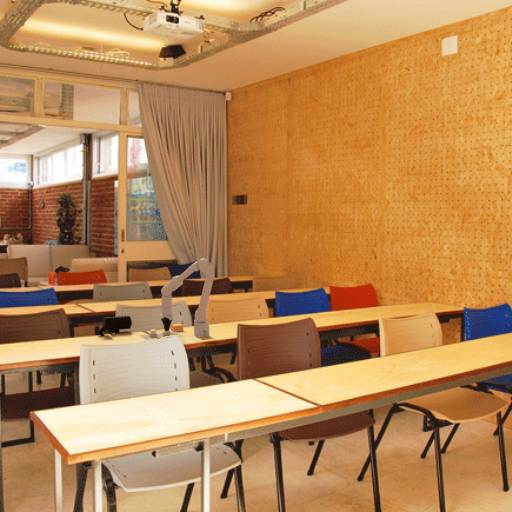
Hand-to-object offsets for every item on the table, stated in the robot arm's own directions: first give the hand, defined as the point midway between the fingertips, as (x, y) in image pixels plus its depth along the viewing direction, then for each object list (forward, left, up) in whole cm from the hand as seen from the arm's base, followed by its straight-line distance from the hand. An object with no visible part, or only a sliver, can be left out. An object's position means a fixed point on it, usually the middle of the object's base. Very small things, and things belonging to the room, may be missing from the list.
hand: (166, 330), depth 356 cm
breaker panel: (0, +4, -3) cm, 5 cm away
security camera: (+20, +24, -4) cm, 31 cm away
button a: (0, 0, -2) cm, 2 cm away
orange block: (+10, -10, -3) cm, 15 cm away
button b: (0, +8, -1) cm, 8 cm away
